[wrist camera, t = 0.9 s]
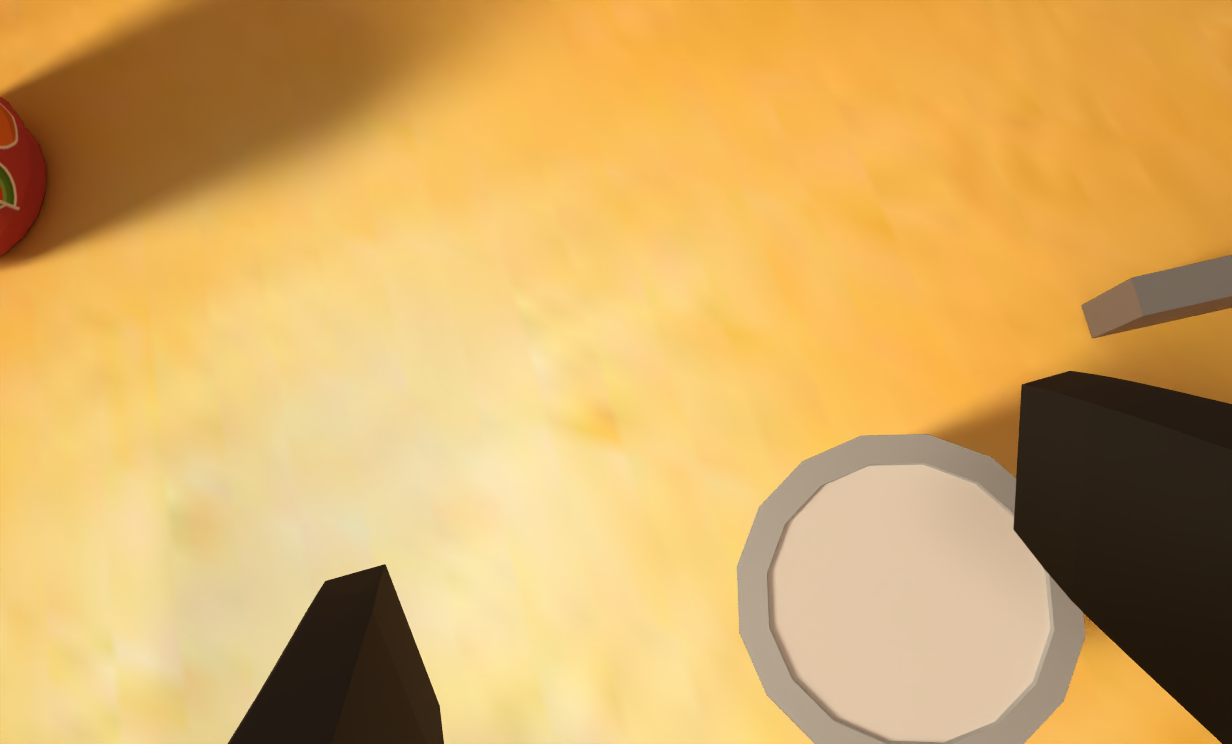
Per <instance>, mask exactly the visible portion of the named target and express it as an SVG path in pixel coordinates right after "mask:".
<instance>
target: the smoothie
mask: <svg viewBox="0 0 1232 744" xmlns="http://www.w3.org/2000/svg"><path fill="white" fill-rule="evenodd" d="M45 191H46V165H45V161H44V158H43V155H42V151H41V148H40V146H39V144H38V143H37V142H36V140H35V139H34V137H33V136H32V135H31V133H30V132H29V131H28V129H26V128H25V127H24V124H23V122H22V120H21V119H20V117H19V116H18V115H17V113H16V112H15V111H14V109H13V108H12V107H11V105H10V104H9V102H7V101H6V100H4V99H3V98H1V97H0V255H2V254H4V253H6V252H7V251H8V250H9V249H10V248H12V247H13V246H14V245H15V244H16V243H17V242H18V241H19V240H20V239H22V238H23V237H24V236H25V234H26V232H27V231H28V229H29V228H30V226H31V225H32V223H33V222H34V220H35V219H36V217H37V216H38V213H39V210H40V207H41V204H42V201H43V198H44V194H45Z"/></svg>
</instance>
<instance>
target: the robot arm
mask: <svg viewBox="0 0 1232 744" xmlns="http://www.w3.org/2000/svg"><path fill="white" fill-rule="evenodd" d="M1013 530H1014V531H1015V532H1016V533H1017V535H1018V536H1019V537H1020V539H1021V540H1022V541H1023V542H1024V544H1025V545H1026V546H1027V548H1028V549H1029V550H1030V551H1031V553H1032V554H1033V555H1034V556H1035V558H1036V559H1037V560H1038V562H1039V563H1040V564H1041V565H1042V567H1043V568H1044V569H1045V570H1046V571H1047V573H1048V574H1049V575H1050V576H1051V577H1052V579H1053V580H1054V581H1055V582H1056V583H1057V584H1058V586H1059V587H1060V588H1061V589H1062V590H1063V591H1064V593H1065V594H1066V595H1067V596H1068V597H1069V599H1070V600H1071V601H1072V602H1073V603H1074V604H1075V605H1076V606H1077V607H1078V608H1079V609H1080V610H1081V611H1082V612H1083V613H1084V614H1085V615H1086V616H1087V617H1088V618H1089V619H1090V620H1092V621H1093V622H1094V623H1095V624H1096V625H1097V626H1098V627H1099V628H1100V629H1101V630H1102V631H1103V632H1104V633H1105V634H1106V635H1107V636H1108V637H1109V638H1110V639H1111V640H1112V641H1114V642H1115V643H1116V644H1117V645H1118V646H1119V647H1120V648H1121V649H1122V650H1123V651H1124V652H1125V653H1126V654H1127V655H1128V656H1129V657H1130V658H1131V659H1132V660H1133V661H1135V662H1136V663H1137V664H1138V665H1139V666H1140V667H1141V668H1142V669H1143V670H1144V671H1145V672H1146V673H1147V674H1148V675H1150V676H1151V677H1152V678H1153V679H1154V680H1155V681H1156V682H1157V683H1158V684H1159V685H1160V686H1161V687H1162V688H1163V689H1164V690H1166V691H1167V692H1168V693H1169V694H1170V695H1171V696H1172V697H1173V698H1174V699H1175V700H1176V701H1177V702H1178V703H1179V704H1181V705H1182V706H1183V707H1184V708H1185V709H1186V710H1187V711H1188V712H1189V713H1190V714H1191V715H1192V716H1193V717H1194V718H1195V719H1197V720H1198V721H1199V722H1200V723H1201V724H1202V725H1203V726H1204V727H1205V728H1206V729H1207V730H1208V731H1209V732H1210V733H1211V734H1213V735H1214V736H1215V737H1216V738H1217V739H1218V740H1219V741H1220V742H1221V743H1222V744H1232V404H1228V403H1224V402H1220V401H1216V400H1211V399H1207V398H1203V397H1198V396H1194V395H1190V394H1186V393H1181V392H1177V391H1173V390H1168V389H1164V388H1160V387H1155V386H1150V385H1146V384H1141V383H1136V382H1132V381H1127V380H1122V379H1117V378H1112V377H1106V376H1101V375H1095V374H1088V373H1081V372H1075V371H1068V372H1065V373H1061V374H1057V375H1054V376H1050V377H1047V378H1043V379H1040V380H1036V381H1033V382H1029V383H1026V384H1022V390H1021V407H1020V424H1019V441H1018V458H1017V475H1016V493H1015V510H1014V527H1013ZM228 744H444V740H443V731H442V723H441V714H440V706H439V703H438V700H437V698H436V695H435V693H434V690H433V687H432V685H431V682H430V679H429V677H428V674H427V672H426V669H425V666H424V664H423V661H422V659H421V656H420V653H419V651H418V648H417V646H416V643H415V640H414V638H413V635H412V632H411V630H410V627H409V625H408V622H407V619H406V617H405V614H404V612H403V609H402V606H401V604H400V601H399V599H398V596H397V593H396V591H395V588H394V585H393V583H392V580H391V578H390V575H389V572H388V570H387V567H386V565H385V564H384V565H381V566H377V567H374V568H370V569H366V570H363V571H359V572H356V573H352V574H349V575H345V576H342V577H338V578H335V579H331V580H327V581H325V582H324V584H323V586H322V587H321V589H320V590H319V592H318V593H317V595H316V597H315V598H314V600H313V602H312V603H311V605H310V607H309V608H308V610H307V612H306V613H305V615H304V617H303V618H302V620H301V622H300V624H299V625H298V627H297V629H296V630H295V632H294V634H293V636H292V637H291V639H290V641H289V643H288V644H287V646H286V648H285V649H284V651H283V653H282V655H281V656H280V658H279V660H278V661H277V663H276V665H275V667H274V668H273V670H272V672H271V673H270V675H269V677H268V678H267V680H266V682H265V684H264V685H263V687H262V689H261V690H260V692H259V694H258V695H257V697H256V699H255V700H254V702H253V704H252V705H251V707H250V708H249V710H248V712H247V713H246V715H245V717H244V718H243V720H242V721H241V723H240V725H239V726H238V728H237V730H236V731H235V733H234V734H233V736H232V738H231V739H230V741H229V743H228Z"/></svg>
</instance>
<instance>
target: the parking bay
mask: <svg viewBox="0 0 1232 744" xmlns="http://www.w3.org/2000/svg"><path fill="white" fill-rule="evenodd" d="M1231 307H1232V255H1230V256H1225V257H1221V258H1216V259H1212V260H1208V261H1203V262H1199V263H1195V264H1190V265H1186V266H1182V267H1177V268H1173V269H1168V270H1164V271H1160V272H1155V273H1151V274H1147V275H1142V276H1138V277H1134V278H1130V279H1128V280H1127V281H1125V282H1123V283H1121V284H1119V285H1117V286H1116V287H1114V288H1112V289H1110V290H1108V291H1107V292H1105V293H1103V294H1101V295H1099V296H1097V297H1096V298H1094V299H1092V300H1090V301H1088V302H1087V303H1085V304H1083V305H1082V308H1083V311H1084V315H1085V318H1086V321H1087V324H1088V327H1089V330H1090V333H1091V336H1092V338H1096V337H1101V336H1105V335H1110V334H1114V333H1119V332H1123V331H1128V330H1132V329H1137V328H1141V327H1146V326H1150V325H1155V324H1159V323H1164V322H1168V321H1173V320H1177V319H1182V318H1186V317H1191V316H1195V315H1200V314H1204V313H1209V312H1213V311H1218V310H1222V309H1227V308H1231Z"/></svg>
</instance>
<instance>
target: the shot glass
mask: <svg viewBox="0 0 1232 744" xmlns="http://www.w3.org/2000/svg"><path fill="white" fill-rule="evenodd" d="M1015 493H1016V478H1015V477H1014V476H1013V475H1012V474H1011V473H1009V472H1008V471H1007V470H1006V469H1005V468H1004V467H1003V466H1001V465H1000V464H999V463H998V462H997V461H996V460H994V459H993V458H992V457H989V456H987V455H984V454H981V453H978V452H976V451H973V450H970V449H967V448H965V447H962V446H959V445H956V444H954V443H951V442H948V441H945V440H943V439H940V438H937V437H934V436H931V435H929V434H908V435H868V436H859V437H857V438H855V439H852V440H850V441H848V442H846V443H843V444H841V445H839V446H836V447H834V448H832V449H830V450H827V451H825V452H823V453H820V454H818V455H816V456H813V457H811V458H809V459H807V460H804V461H802V462H801V463H800V465H799V466H798V467H797V468H796V469H795V470H794V471H793V472H792V473H791V474H790V475H789V476H788V477H787V478H786V479H785V480H784V481H783V482H782V484H781V485H780V486H779V487H778V488H777V489H776V490H775V491H774V492H773V493H772V494H771V495H770V496H769V497H768V498H767V499H766V500H765V501H764V502H763V504H762V505H761V506H760V507H759V509H758V512H757V514H756V517H755V520H754V522H753V525H752V528H751V530H750V533H749V536H748V539H747V541H746V544H745V547H744V549H743V552H742V555H741V557H740V560H739V563H738V565H737V581H738V609H739V633H740V635H741V637H742V640H743V642H744V644H745V647H746V649H747V651H748V653H749V656H750V658H751V660H752V663H753V665H754V667H755V669H756V672H757V674H758V676H759V679H760V681H761V683H762V685H763V688H764V690H765V692H766V695H767V696H768V697H769V698H770V699H771V700H772V701H773V702H774V703H775V704H776V705H777V706H778V707H779V708H780V709H781V710H782V711H783V712H784V713H785V714H786V715H787V716H788V717H789V718H790V719H791V720H792V721H793V722H794V723H795V724H796V725H797V726H798V727H799V728H800V729H801V730H802V731H803V732H804V733H805V734H806V735H807V736H808V737H809V738H810V739H811V740H812V741H813V742H814V743H815V744H1024V743H1025V742H1026V741H1027V740H1028V739H1029V738H1030V737H1031V735H1032V734H1033V733H1034V732H1035V731H1036V730H1037V729H1038V728H1039V727H1040V726H1041V725H1042V724H1043V723H1044V722H1045V721H1046V720H1047V718H1048V717H1049V716H1050V715H1051V714H1052V713H1053V712H1054V711H1055V710H1056V709H1057V708H1058V707H1059V706H1060V705H1061V704H1062V703H1063V702H1064V699H1065V696H1066V693H1067V690H1068V687H1069V684H1070V681H1071V678H1072V675H1073V672H1074V669H1075V666H1076V663H1077V660H1078V657H1079V654H1080V651H1081V648H1082V645H1083V642H1084V639H1085V626H1084V616H1083V612H1082V611H1081V610H1080V609H1079V608H1078V607H1077V606H1076V605H1075V604H1074V603H1073V602H1072V601H1071V600H1070V599H1069V597H1068V596H1067V595H1066V594H1065V593H1064V591H1063V590H1062V589H1061V588H1060V587H1059V586H1058V584H1057V583H1056V582H1055V581H1054V580H1053V579H1052V577H1051V576H1050V575H1049V574H1048V573H1047V571H1046V570H1045V569H1044V568H1043V567H1042V565H1041V564H1040V563H1039V562H1038V560H1037V559H1036V558H1035V556H1034V555H1033V554H1032V553H1031V551H1030V550H1029V549H1028V548H1027V546H1026V545H1025V544H1024V542H1023V541H1022V540H1021V539H1020V537H1019V536H1018V535H1017V533H1016V532H1015V531H1014V530H1013V527H1014V510H1015Z"/></svg>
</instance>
